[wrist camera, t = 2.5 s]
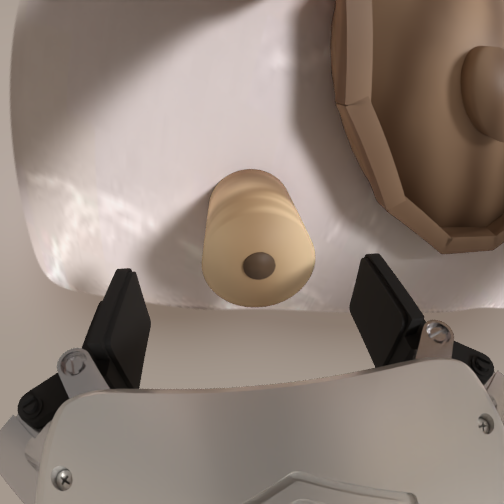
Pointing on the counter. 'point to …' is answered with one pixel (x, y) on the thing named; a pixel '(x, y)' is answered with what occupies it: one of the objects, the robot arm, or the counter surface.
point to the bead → (255, 241)
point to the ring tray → (427, 112)
